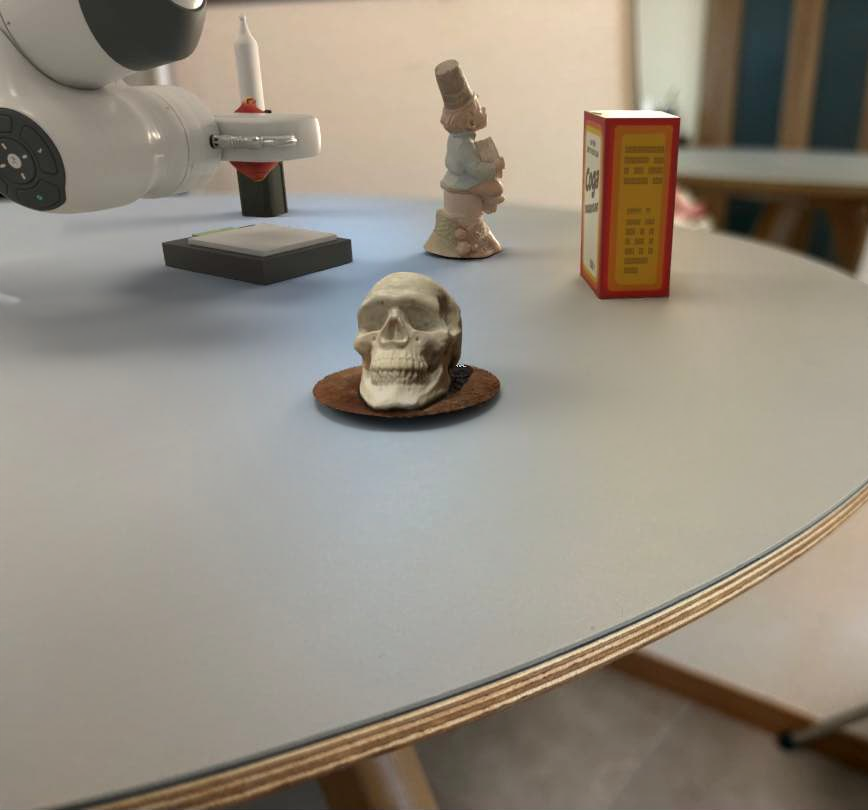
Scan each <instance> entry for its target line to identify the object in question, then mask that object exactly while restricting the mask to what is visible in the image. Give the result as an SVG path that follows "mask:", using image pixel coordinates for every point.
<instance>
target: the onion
mask: <svg viewBox="0 0 868 810" xmlns="http://www.w3.org/2000/svg"><path fill="white" fill-rule="evenodd" d="M255 103H256V100H255V99H254V98H252V97H247V98H245V99H244V100H243V102H242V104H241V103H240V105H239V107H238V108H237V109H236V110H234V111H233V113H265V112H264V111H262V110H260V109H259V108H257V107H256V104H255ZM228 163H229V164H230V165H231V166H233V167H234V169H235V170H236V169H237V170H238V171H240V172H241V173H243V174H244V175H246V176H247V177H249V178H250V179H252V180H254V181H261V180H263V179H264V178H265V177H266V175H267V174H268V173H269V172H270V171H271V170H272V169H273V168H274V167H275V166H276V165H277V163H278V162H241V161H228ZM237 170H236V171H237Z"/></svg>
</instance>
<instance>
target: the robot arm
mask: <svg viewBox="0 0 868 810" xmlns="http://www.w3.org/2000/svg"><path fill="white" fill-rule="evenodd" d="M207 1H208V0H0V194H1V195H2V196H3V197H5V198H7V199H8V200H9V201H11V202H13V203H15V204H17V205H19V206H21V207H24V208H27V209H29V210H32V211H36V212H40V213H45V214H56V215H74V214H85V213H86V214H87V213H93V212H101V211H107V210H111V209H112V210H113V209H116V208H121V207H125V206H128V205H131V204H133V203H135V202H137V201H138V200H139V199H143V200H156V199H161V198H166V197H169V196H174V195H179V194H183V193H188V192H192V191H196V190H199V189H201V188H203V187H205V186H206V185H207V184H209V183H210V182H211V181H212V180H213V178H214V177H215V175H216V174H217V172H218V170H219V167H220V165H221V162H229V161H241V162H280V161H283V162H286V161H295V160H301V159H308V158H315V157H317V156H319V155H320V153H321V150H322V138H321V137H322V136H321V128H320V123H319V120H318V118H317V117H316V116H315V115H312V114H307V113H273V112H272V113H234V112H227V111H226V112H221V111H211V110H210V109H209V107H208V106H207V105H206V103H205V102H204V101H203V100H202V99H201V98H200V97H198V95H196V94H195V93H193V92H191V90H188V89H186V88H184V87H181V86H178V85H173V84H159V85H158V84H157V85H139V86H138V85H136V86H135V85H133V86H132V85H129V84H127V83H126V82H125V81H124V80H123V79H124V78H127V77H129V76H131V75H133V74H136V73H138V72H145V71H149V70H151V69H155V68H159V67H162V66H166V65H168V64H169V65H170V64H173V63H176V62H179V61H182V60H186V59H187V58H189V57H190V56H191V55H192V54H193V53H194V52H195V51H196V49H197V47H198V45H199V42H200V39H201V37H202V35H203V34H202V33H203V30H204V26H205V22H206V17H207V6H208V5H207Z"/></svg>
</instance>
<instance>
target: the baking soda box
mask: <svg viewBox="0 0 868 810" xmlns="http://www.w3.org/2000/svg"><path fill="white" fill-rule="evenodd" d="M681 119H682V118H681V117H680V116H677V115H673V114H671V113H668V112H664V111H658V110H656V111H655V110H625V109H624V110H623V109H622V110H621V109H620V110H619V109H598V110H584V111H583V137H582V143H583V144H582V175H581V177H582V178H581V180H582V183H581V217H580V219H581V221H580V223H581V224H580V230H581V231H580V258H579V259H580V263H579V264H580V265H579V274H580V276H581V277H582V278H583V279H584V281H585V282H586V283H587V285H588V286H589V287H590V288H591V289H592V291H593V292H594V294H595V295H596V296H597V298H598V299H600V300H601V299H602V300H603V299H627V298H633V299H634V298H660V297H661V298H662V297H663V298H664V297H670V285H671V284H670V283H671V271H672V270H671V269H672V257H673V256H672V254H673V242H674V241H673V239H674V227H675V226H674V225H675V211H676V209H675V207H676V193H677V179H678V165H679V163H678V162H679V148H680V133H681V131H680V130H681Z"/></svg>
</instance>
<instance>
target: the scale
mask: <svg viewBox="0 0 868 810" xmlns="http://www.w3.org/2000/svg"><path fill="white" fill-rule="evenodd" d="M161 246H162V252H163V259H164V265H165V266H167V267H172V268H176V269H183V270H188V271H192V272H197V273H202V274H207V275H212V276H217V277H222V278H226V279H230V280H231V279H232V280H236V281H242V282H247V283H251V284H257V285H262V286H267V285H271V284H274V283H278V282H282V281H286V280H289V279H293V278H297V277H300V276H305V275H309V274H312V273H315V272H319V271H323V270H326V269H330V268H334V267H338V266H341V265H345V264H348V263H353V260H354V258H353V246H352V239H351V238H345V237H339V236H338V234H337V233H332V232H326V231H319V230H313V229H312V230H311V229H306V228H305V229H304V228H297V227H292V226H286V225H285V226H284V225H277V224H273V223H267V222H266V223H259V224H250V225H245V226H239V227H233V226H227V227H223V228H218V229H213V230H208V231H207V230H206V231H202V232H197V233H192V234H191V236H189V237H183V238H178V239H173V240H168V241H163V242H161Z"/></svg>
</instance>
